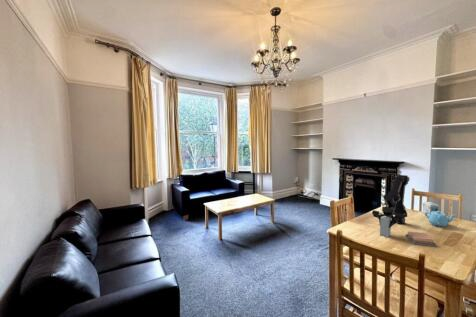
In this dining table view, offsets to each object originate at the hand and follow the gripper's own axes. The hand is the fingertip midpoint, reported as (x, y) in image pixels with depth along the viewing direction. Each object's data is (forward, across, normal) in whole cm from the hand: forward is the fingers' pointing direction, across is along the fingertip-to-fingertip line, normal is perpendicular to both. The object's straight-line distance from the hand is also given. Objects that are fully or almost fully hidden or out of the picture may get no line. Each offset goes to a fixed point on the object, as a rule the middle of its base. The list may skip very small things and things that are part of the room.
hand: (384, 226), depth 149 cm
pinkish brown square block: (-1, +18, +10) cm, 21 cm away
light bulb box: (-48, +13, +58) cm, 76 cm away
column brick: (+4, 0, +6) cm, 7 cm away
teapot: (-32, +22, +41) cm, 56 cm away
